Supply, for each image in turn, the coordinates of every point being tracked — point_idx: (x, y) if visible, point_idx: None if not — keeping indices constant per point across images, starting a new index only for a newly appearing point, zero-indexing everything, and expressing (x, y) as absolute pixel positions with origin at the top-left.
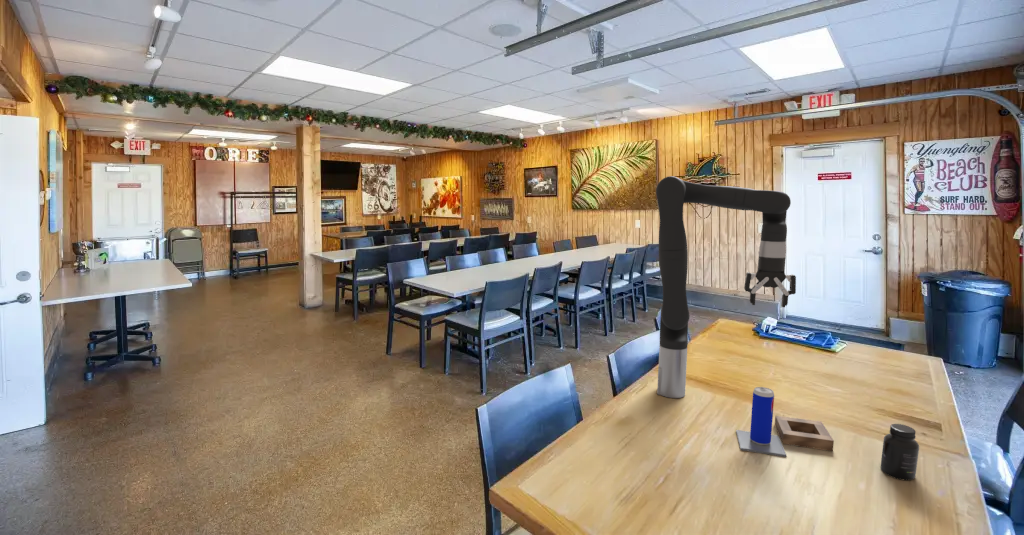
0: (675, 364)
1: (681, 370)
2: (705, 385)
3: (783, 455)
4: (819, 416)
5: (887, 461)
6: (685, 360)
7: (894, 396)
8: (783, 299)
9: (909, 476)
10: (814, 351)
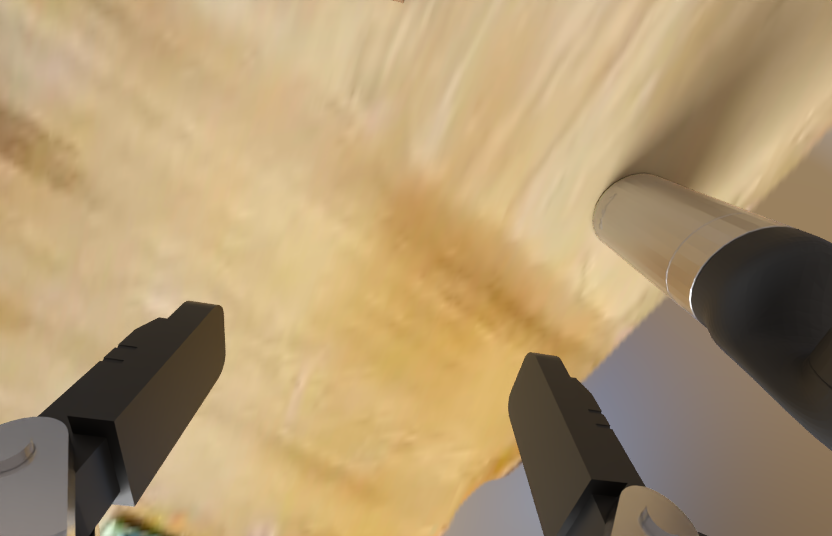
0: (722, 205)
1: (677, 203)
2: (506, 282)
3: None
4: (246, 100)
5: None
6: (680, 229)
7: (13, 280)
8: (154, 368)
9: None
10: (163, 516)
